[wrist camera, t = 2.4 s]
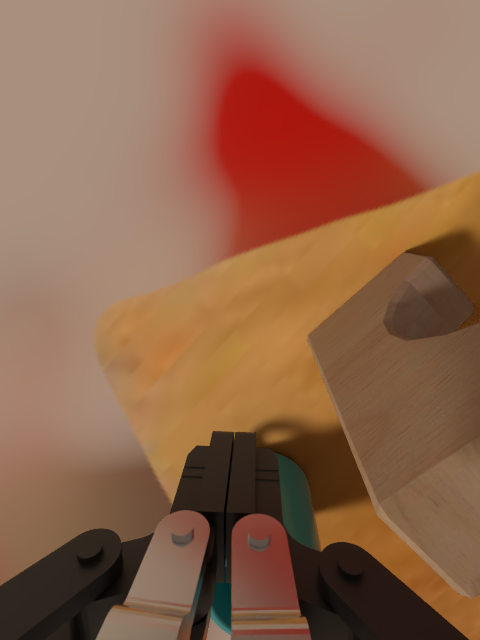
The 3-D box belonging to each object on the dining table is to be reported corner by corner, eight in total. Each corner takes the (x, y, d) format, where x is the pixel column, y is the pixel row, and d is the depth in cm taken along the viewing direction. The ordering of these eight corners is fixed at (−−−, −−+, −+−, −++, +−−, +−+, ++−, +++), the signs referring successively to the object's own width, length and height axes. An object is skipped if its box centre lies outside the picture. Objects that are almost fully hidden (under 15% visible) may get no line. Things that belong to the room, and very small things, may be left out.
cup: (242, 411, 34) (234, 500, 23) (327, 488, 35) (357, 604, 25) (180, 466, 36) (145, 572, 25) (263, 537, 38) (264, 664, 27)
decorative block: (406, 248, 29) (698, 298, 10) (447, 298, 30) (790, 436, 11) (302, 334, 31) (370, 513, 12) (343, 379, 32) (467, 610, 13)
